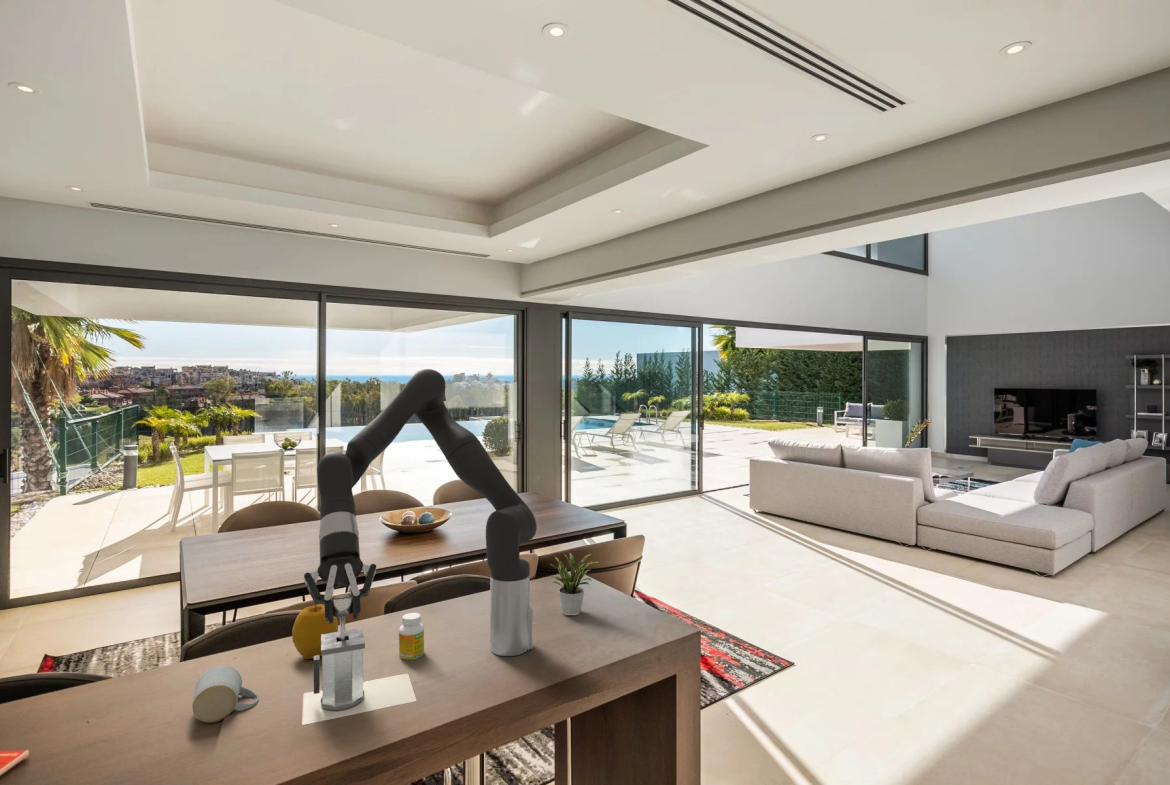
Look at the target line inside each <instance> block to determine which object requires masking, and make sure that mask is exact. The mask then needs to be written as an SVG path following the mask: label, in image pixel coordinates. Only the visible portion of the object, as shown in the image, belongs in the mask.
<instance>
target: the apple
mask: <svg viewBox="0 0 1170 785" xmlns="http://www.w3.org/2000/svg"><path fill="white" fill-rule="evenodd" d="M334 632H339V623H338V617H335V616H333V623H331V624H329V621H326V620H325V606H324V605H323V604H320V603H319V604H314V605H311V606H310V605H309V606H307V607H304V608H303V609H301V611H299V614H298V615H297V616H296V618H295V621H294V623H293V626H292V630H291V636H292V643H293V644H294V647H295V649H296V650H297V652H298V653H299V654H300V656H301V657H302V658H303V659H305V660H311V659H312V660H314V656H316V655H319V658H320V657H322V656H321V634H328V633H334Z"/></svg>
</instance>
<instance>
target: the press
mask: <svg viewBox="0 0 1170 785" xmlns="http://www.w3.org/2000/svg"><path fill="white" fill-rule="evenodd" d="M364 635H365V634H364V630H363V628H362V627H361V628H355V629H348V630H345V641H340V631H338V632H334V633H328V634H321V656H320V657H321V664H322V665H321V669H322V670H321V672H322V675H321V676H322V678H321V679H322V680H321V683H322V686H321V688H322V689H321V688H320V685H321V684H320V657H319V655H316V656H314V658H313V691H314V694H317V693H320V690H322V698H321V707H322V708H323V709H324V710H327V711H344V710H348V709H351V708H353V707H355V706H357V705H359V704H360V703H361V702H362V701H363V700H364V690H363V682H364V649H366V641H365V636H364Z"/></svg>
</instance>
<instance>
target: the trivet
mask: <svg viewBox="0 0 1170 785" xmlns="http://www.w3.org/2000/svg"><path fill="white" fill-rule="evenodd" d="M363 690H364V700H363V701H362V702H361V703H360V704H359V705H357V706H355V707H353V708H351V709H348V710H344V711H327V710H324V709H323V708H322V707H321V698H322V689H320V693H317V694H314V690H313V691H309V692H304V693H303V694H302V719H301V725H302V726H305V725H309V724H311V725H312V724H315V723H319V722H325V721H330V720H333V719H339V718H343V717H348V716H352V715H353V716H354V715H358V714H361V713H366V712H367V713H368V712H372V711H376V710H381V709H386V708H391V707H395V706H401V705H405V704H410V703H414V702H417V698H416V693H415V691H414V688H413V685H412V682H411V679H410V676H409V673H408V672H407V673H403V674H398V675H391V676H388V677H381V678H377V679H371V680H366V681H363Z"/></svg>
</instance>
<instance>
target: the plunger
mask: <svg viewBox="0 0 1170 785" xmlns="http://www.w3.org/2000/svg"><path fill="white" fill-rule="evenodd" d="M332 600H333V616H335V617H336V618H339V632H340V641H345V631H346V617H347V616H349V615H350V616H351V615H353V608H352V595H351V594H339V595H335V596H334V597H332ZM332 600H331V601H332Z"/></svg>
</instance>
